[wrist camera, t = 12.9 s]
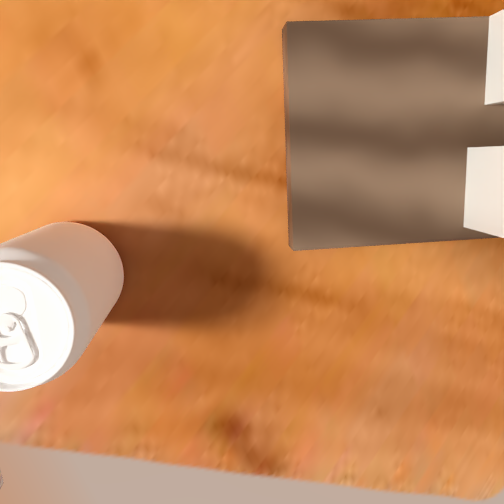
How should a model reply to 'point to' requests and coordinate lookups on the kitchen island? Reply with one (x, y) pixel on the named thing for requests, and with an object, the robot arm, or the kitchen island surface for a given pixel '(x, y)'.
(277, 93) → the kitchen island surface
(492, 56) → the faced carton
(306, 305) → the kitchen island surface
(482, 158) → the tall carton
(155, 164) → the kitchen island surface
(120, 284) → the beverage can
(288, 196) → the shelf board
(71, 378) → the kitchen island surface
